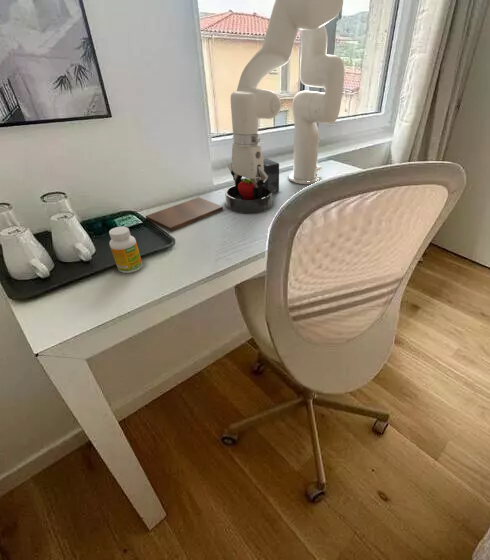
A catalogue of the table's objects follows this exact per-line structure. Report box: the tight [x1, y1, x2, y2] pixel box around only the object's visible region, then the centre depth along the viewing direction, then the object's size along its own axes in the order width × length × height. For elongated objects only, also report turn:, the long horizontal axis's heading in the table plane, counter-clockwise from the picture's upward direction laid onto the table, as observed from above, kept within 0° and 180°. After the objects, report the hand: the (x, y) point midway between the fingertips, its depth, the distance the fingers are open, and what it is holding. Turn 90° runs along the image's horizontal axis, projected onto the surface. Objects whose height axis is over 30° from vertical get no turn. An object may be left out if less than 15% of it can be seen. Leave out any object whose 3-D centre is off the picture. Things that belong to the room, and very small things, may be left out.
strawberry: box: [238, 177, 255, 200], centre depth 106 cm, size 6×8×10 cm
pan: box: [224, 184, 273, 215], centre depth 108 cm, size 15×15×4 cm
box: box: [256, 158, 280, 195], centre depth 117 cm, size 8×6×11 cm
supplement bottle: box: [108, 226, 143, 274], centre depth 73 cm, size 5×5×10 cm
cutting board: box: [145, 196, 224, 232], centre depth 100 cm, size 20×12×1 cm, turn 144°
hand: (248, 194), depth 107 cm, fingers closed on strawberry, 7 cm apart
